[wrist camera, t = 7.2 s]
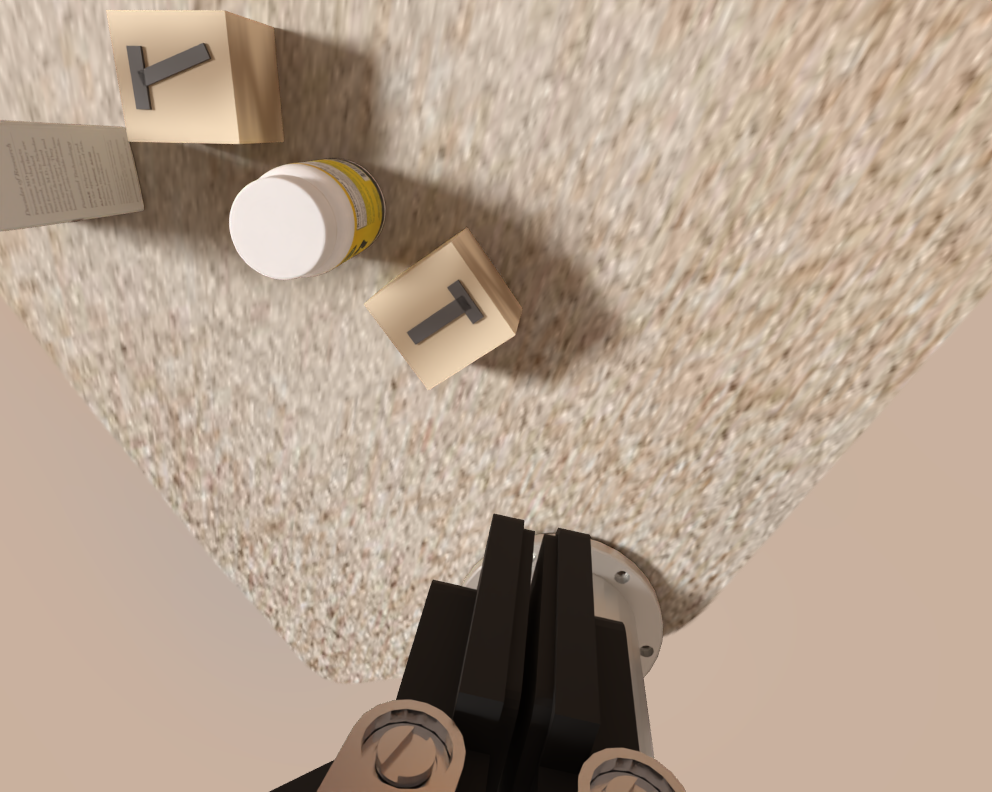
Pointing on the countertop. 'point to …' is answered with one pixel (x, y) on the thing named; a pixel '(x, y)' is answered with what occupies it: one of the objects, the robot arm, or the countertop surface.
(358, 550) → the countertop surface
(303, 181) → the supplement bottle
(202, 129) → the digit block seven
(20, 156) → the skincare box
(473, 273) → the digit block one
